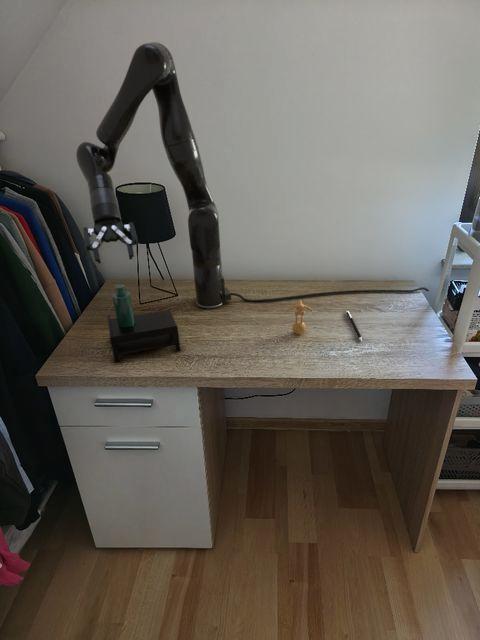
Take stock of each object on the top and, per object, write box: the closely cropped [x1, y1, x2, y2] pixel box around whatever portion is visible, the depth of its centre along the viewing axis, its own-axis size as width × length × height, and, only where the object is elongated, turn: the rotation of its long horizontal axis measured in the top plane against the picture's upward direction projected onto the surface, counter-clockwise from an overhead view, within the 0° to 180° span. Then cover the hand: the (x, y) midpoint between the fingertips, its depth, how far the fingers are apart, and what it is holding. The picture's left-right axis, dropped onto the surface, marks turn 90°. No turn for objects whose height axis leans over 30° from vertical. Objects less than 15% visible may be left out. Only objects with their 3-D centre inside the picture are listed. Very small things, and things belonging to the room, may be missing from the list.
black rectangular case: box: [106, 309, 181, 363], centre depth 137 cm, size 18×13×8 cm
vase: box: [111, 283, 135, 327], centre depth 133 cm, size 5×5×12 cm
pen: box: [346, 310, 363, 342], centre depth 146 cm, size 1×19×1 cm, turn 4°
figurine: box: [284, 299, 315, 335], centre depth 140 cm, size 8×6×12 cm
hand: (115, 260), depth 134 cm, fingers open, 8 cm apart
